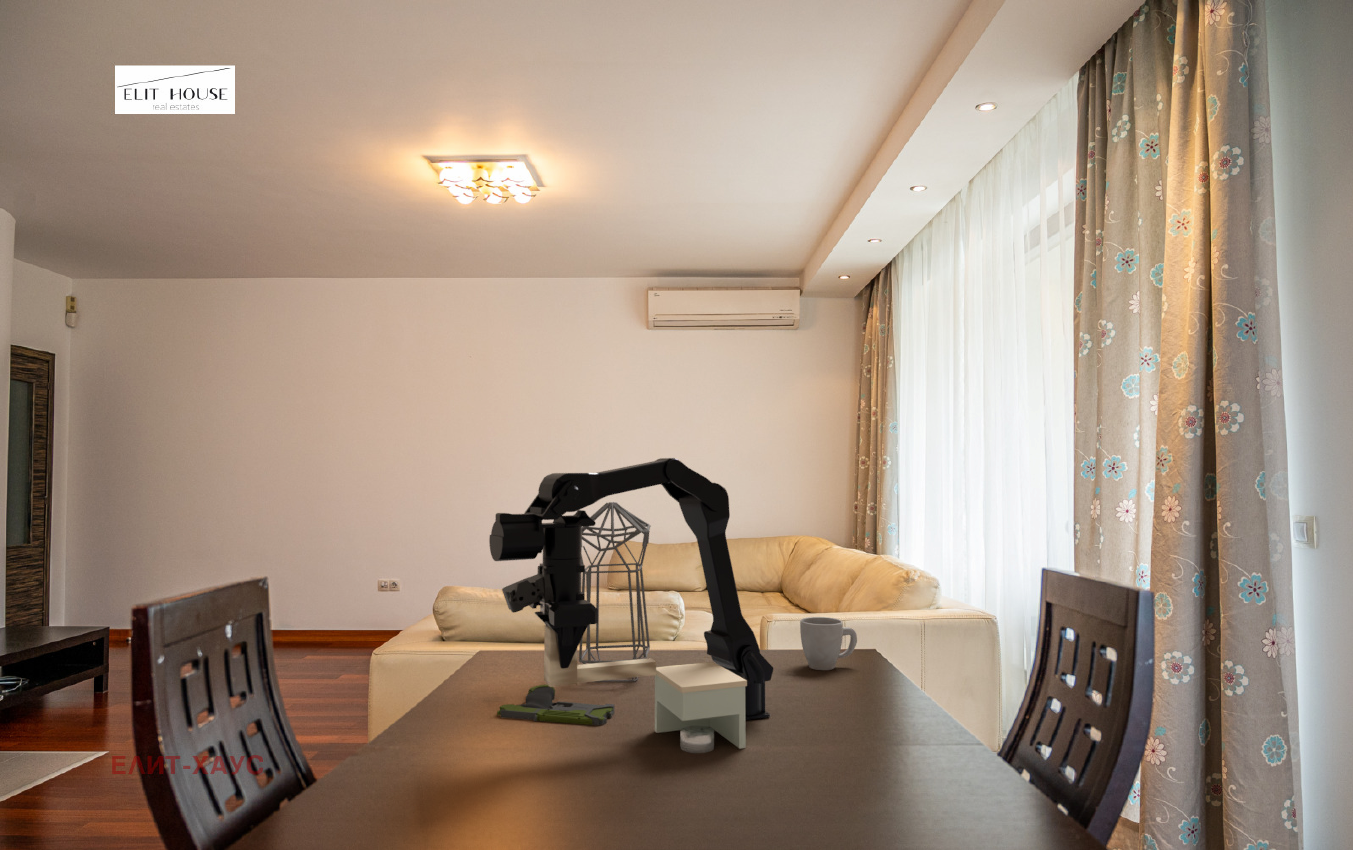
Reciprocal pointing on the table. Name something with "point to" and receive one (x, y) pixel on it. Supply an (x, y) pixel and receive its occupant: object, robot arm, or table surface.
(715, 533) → the robot arm
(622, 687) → the table surface
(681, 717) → the pale green stool
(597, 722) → the gun
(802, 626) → the mug
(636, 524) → the geometric lantern
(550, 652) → the wooden l-shaped block
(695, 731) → the cylinder
